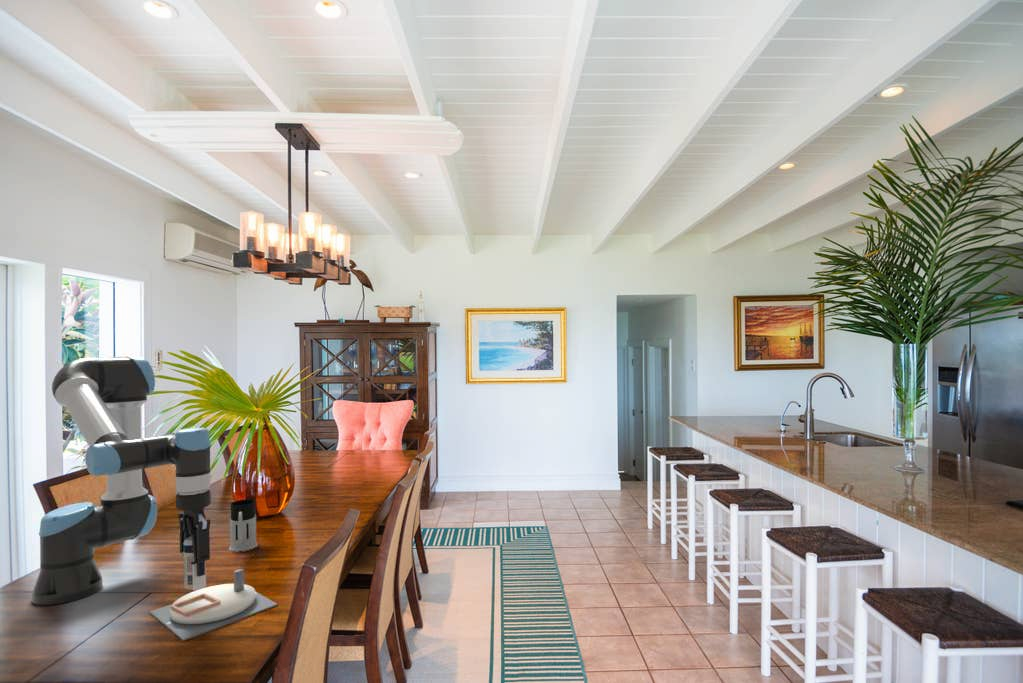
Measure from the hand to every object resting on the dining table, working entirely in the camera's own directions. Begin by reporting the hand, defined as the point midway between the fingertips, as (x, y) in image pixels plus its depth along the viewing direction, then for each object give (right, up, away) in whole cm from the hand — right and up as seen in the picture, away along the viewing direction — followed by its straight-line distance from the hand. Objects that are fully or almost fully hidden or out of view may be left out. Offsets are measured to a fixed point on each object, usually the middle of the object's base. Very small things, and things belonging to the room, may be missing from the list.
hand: (195, 585), depth 137 cm
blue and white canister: (0, -1, 0) cm, 1 cm away
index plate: (+3, -8, +3) cm, 9 cm away
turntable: (+3, -8, +3) cm, 9 cm away
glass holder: (-11, -9, +46) cm, 48 cm away
